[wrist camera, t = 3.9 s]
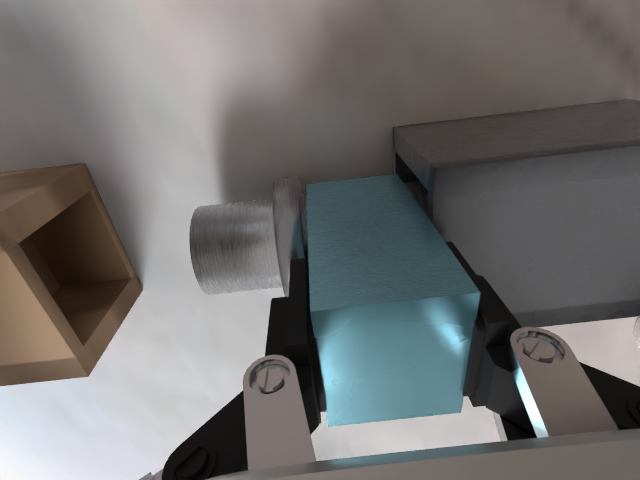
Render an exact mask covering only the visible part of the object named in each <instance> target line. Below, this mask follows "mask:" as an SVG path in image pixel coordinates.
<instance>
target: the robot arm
mask: <svg viewBox="0 0 640 480" xmlns="http://www.w3.org/2000/svg"><path fill="white" fill-rule="evenodd" d="M445 243H446V244H447V246H448V247H449V248H450V250H451V251H452V253H453V254H454V255H455V257H456V258H457V260H458V261H459V263H460V264H461V265H462V267H463V268H464V270H465V271H466V273H467V274H468V275H469V277H470V278H471V280H472V281H473V283H474V284H475V285H476V287H477V288H478V290H479V291H480V299H479V305H478V311H477V318H476V320H474V326H473V333H472V339H471V345H470V351H469V357H468V363H467V370H466V376H465V382H464V388H463V394H462V395H463V396H468V397H469V399H470V401H471V403H472V405H473V407H477V406H486V408H488V409H490V410H492V411H493V415H494V419H495V423H496V426H497V430H498V433H499V437H500V440H501V442H492V443H482V444H473V445H463V446H454V447H444V448H435V449H425V450H416V451H407V452H397V453H388V454H379V455H370V456H361V457H352V458H343V459H334V460H325V461H316V458H315V454H314V449H313V445H312V440H311V436H310V435H311V434H312V432H313V431H314V430H315V429H316V428H317V427H318V426H319V423H321V414H320V412H324V411H327V407H326V401H325V394H324V388H323V381H322V375H321V368H320V362H319V355H318V349H317V342H316V337H315V338H314V332H313V326H312V320H311V313H310V289H309V262H307V261H306V258H299V259H291V260H290V278H289V297H280V298H272V300H271V308H270V316H269V325H268V334H267V343H266V352H265V357H262V358H260V359H258V360H256V361H255V362H253V363H252V364H251V365H250V366H249V368H248V369H247V370H246V372H245V375H244V379H243V391H242V392H241V393H240V394H238V395H237V396H236V397H235V398H234V399H233V400H231V401H230V402H229V403H228V404H227V405H226V406H225V407H223V408H222V409H221V410H220V411H219V412H218V413H216V414H215V415H214V416H213V417H212V418H211V419H210V420H208V421H207V422H206V423H205V424H204V425H203V426H201V427H200V428H199V429H198V430H197V431H196V432H195V433H193V434H192V435H191V436H190V437H189V438H188V439H186V440H185V441H184V442H183V443H182V444H181V445H180V446H178V447H177V449H176V450H175V451H174V452H173V453H172V454H171V455H170V457H169V458H168V460H167V462H166V463H165V466H164V468H163V469H162V470H161V471H159V472H158V473H156V474H155V475H152V473H151V472H150V473H148V474H147V475H145V476H144V477H142V478H141V479H139V480H640V387H639V386H637V385H634V384H632V383H629V382H627V381H624V380H622V379H620V378H617V377H615V376H612V375H610V374H607V373H605V372H603V371H600V370H598V369H595V368H593V367H590V366H588V365H586V364H583V363H581V362H578V360H577V358H576V357H575V355H574V353H573V352H572V350H571V348H570V347H569V345H568V344H567V343H566V342H565V341H564V340H563V339H562V338H560V337H559V336H558V335H556V334H554V333H552V332H550V331H548V330H544V329H541V328H536V327H522V326H521V325H520V324H519V322H518V321H517V320H516V318H515V317H514V316H513V314H512V313H511V312H510V310H509V309H508V308H507V307H506V305H505V304H504V303H503V301H502V300H501V299H500V297H499V296H498V295H497V293H496V292H495V291H494V289H493V288H492V287H491V286H490V284H489V283H488V282H487V280H486V279H485V278H484V277H483V276H481V275H476V273H475V272H474V271H473V269H472V268H471V267H470V265H469V264H468V262H467V261H466V260H465V258H464V257H463V256H462V254H461V253H460V252H459V250H458V249H457V248H456V246H455V245H454V243H453V242H451V241H449V242H445Z"/></svg>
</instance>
